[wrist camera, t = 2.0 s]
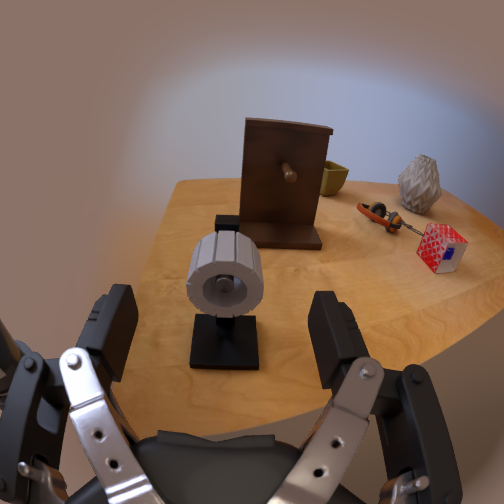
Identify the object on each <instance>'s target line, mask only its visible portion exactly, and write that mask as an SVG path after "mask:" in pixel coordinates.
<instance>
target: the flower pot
mask: <svg viewBox="0 0 504 504" xmlns="http://www.w3.org/2000/svg"><path fill="white" fill-rule="evenodd" d="M348 171H349V170H348V169H347V168H345V167H343V166H340V165H338V164H336V163H334V162H331V161H325V167H324V173H323V179H322V184H321V190H320V194H321V195H323V196H328V195H335V194H336V193H337V192H338V191H339V190H340V189H341V188H342V186H343V185H344V182H345V180H346V177H347V174H348Z"/></svg>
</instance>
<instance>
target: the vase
mask: <svg viewBox="0 0 504 504" xmlns="http://www.w3.org/2000/svg"><path fill="white" fill-rule="evenodd" d="M398 182H399V192H400V196H401V198H402V205H404V207H405V208H408V209H409V210H411V211H413V212H417V213H419V214H420V213H422V214H424V212H425V211H426V210H427V209H430V208H431V207H432V205H433V204H434V203H435V202H436V201H437V200H438V199H439V198H440V196H441V195H442V194H441V187H440V184H439V173H438V170H437V165H436V160H434V159H432V158H429V157H427V156H425V155H420V154H419V155H418V157H416V158H415V159H414V160H413V161H412V162H411V163H410V164H409V166H408V167H407V169H406V170H404V171H403V172H402V173H401V174H400V176H399V178H398Z"/></svg>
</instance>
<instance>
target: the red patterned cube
mask: <svg viewBox="0 0 504 504" xmlns="http://www.w3.org/2000/svg"><path fill="white" fill-rule="evenodd" d="M467 245H468V242H467V241H466V240H465V239H464V238H463V237H462V236H460V235H459V234H458V233H457V232H456V231H455V230H454V229H453V228H451V227H450V226H449V225H444V224H432V223H428V224H427V227H426V230H425V232H424V235H423V237H422V240H421V243H420V245H419V247H418V250H417V252H416V253H417V254H418V255H419V256H420V257H421V258H422V260H423V261H424V262H425V263H426V264H427V265H428V266H429V267H430V269H431V270H432V271H433V272H434V273H445V272H455V270H456V268H457V266H458V264H459V262H460V260H461V258H462V256H463V254H464V252H465V250H466V247H467Z"/></svg>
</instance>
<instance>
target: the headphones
mask: <svg viewBox="0 0 504 504" xmlns="http://www.w3.org/2000/svg"><path fill="white" fill-rule="evenodd" d="M357 209H358V210H359V211H360V212H361V213H362V214H364V215H365V216H367V217H368V218H370V219H371V220H372V221H374V222H377V223H379V224H381V225H383V226H385V228H386V230H387V231H392V232H396V231H397V230H398V229H400V227H401V225H402V224H403V225H405V226H406V225H408V224H405V222H403V220H402V219H401V217H400V216H399V215H398V213H397V212H393V213H390V212H388V211H386V206H385V205H384V204H382V203H380V202H378V203H376V202H375V203H372V204H371V205H370V206H369V205H366V204H362V203H358V205H357ZM367 209H368V210H367ZM386 212H388V213H390V214H389V215H390V216H389V215H387V214H386ZM385 215H387V216H389V218H388V220H385V219H383V218H384V217H385ZM408 226H410V227H408ZM408 226H406V227H407V228H409V229H411V228H412V227H413V226H411V225H408ZM412 229H413V228H412ZM412 229H411V230H412ZM414 230H416V229H414ZM414 230H412V231H414ZM416 231H418V230H416ZM414 232H415V231H414ZM418 232H420V231H418ZM415 233H417V232H415ZM420 233H421V232H420ZM417 234H419V233H417ZM421 234H422V233H421ZM421 234H419V235H421ZM421 236H423V234H422V235H421Z"/></svg>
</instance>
